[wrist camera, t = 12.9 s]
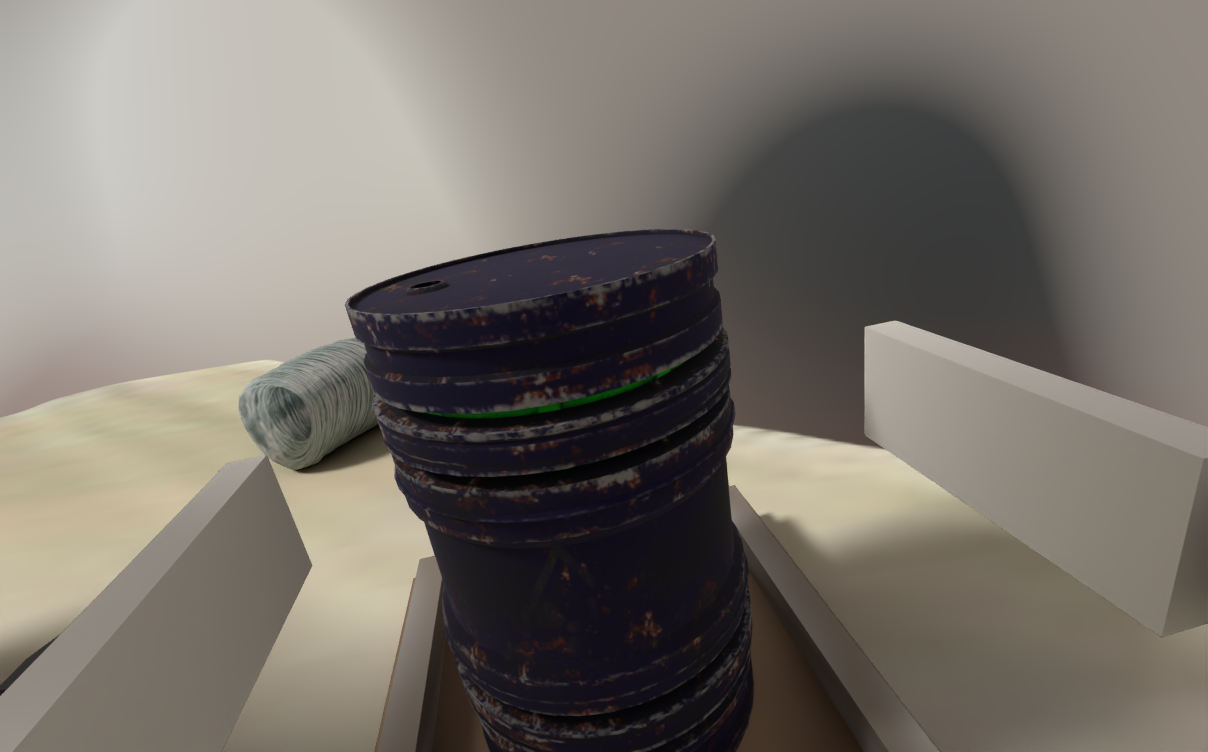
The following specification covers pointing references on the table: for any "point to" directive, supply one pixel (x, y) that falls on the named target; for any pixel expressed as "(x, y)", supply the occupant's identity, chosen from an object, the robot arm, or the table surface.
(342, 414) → the spool
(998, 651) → the table surface
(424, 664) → the cradle plate
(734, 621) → the rusty blue barrel
